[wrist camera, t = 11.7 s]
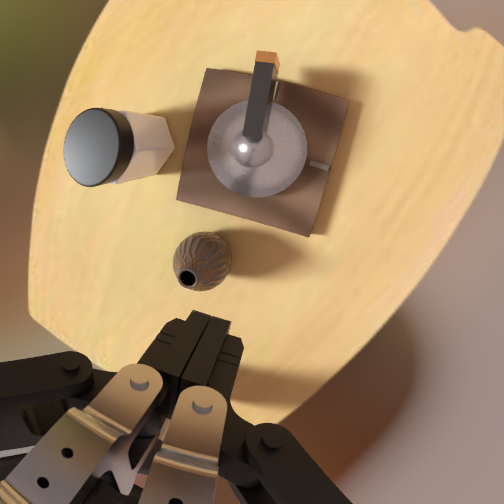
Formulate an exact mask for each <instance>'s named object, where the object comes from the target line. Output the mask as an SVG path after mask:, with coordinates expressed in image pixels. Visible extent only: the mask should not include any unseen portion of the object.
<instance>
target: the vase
mask: <svg viewBox="0 0 504 504" xmlns="http://www.w3.org/2000/svg"><path fill="white" fill-rule="evenodd" d="M230 267H231V252H230V249H229V247H228V245H227V243H226V242H225V241H224V240H223V239H222V238H221V237H220V236H218V235H216V234H214V233H211V232H198V233H194V234H192V235H190V236H188V237H187V238H185V239H184V240H183V241H182V242H181V243H180V244H179V246H178V247H177V249H176V252H175V254H174V258H173V269H174V272H175V275H176V277H177V279H178V281H179V283H180V284H181V285H182V286H183V287H185V288H188V289H191V290H194V291H207V290H210V289H212V288H214V287H216V286H218V285H219V284H220V283H221V282H222V281H223V280H224V279H225V278H226V276H227V274H228V272H229V270H230Z"/></svg>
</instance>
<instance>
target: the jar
mask: <svg viewBox="0 0 504 504" xmlns="http://www.w3.org/2000/svg"><path fill="white" fill-rule="evenodd" d="M174 150H175V146H174V143H173V140H172V137H171V134H170V131H169V128H168V125H167V122H166V118H165V117H161V116H155V115H149V114H143V113H137V112H130V111H116V110H112V109H104V108H91V109H88V110H85V111H83V112H82V113H80V114H79V115H78V116H77V117H76V118H75V119H74V121H73V122H72V123H71V125H70V127H69V129H68V131H67V134H66V137H65V141H64V160H65V164H66V167H67V170H68V172H69V174H70V175H71V177H72V178H73V179H74V180H75V181H76V182H77V183H79V184H81V185H83V186H87V187H95V186H99V185H103V184H107V183H111V184H120V183H124V182H128V181H132V180H136V179H141V178H145V177H149V176H154V175H156V174H157V173H158V171H159V170H160V169H161V167H162V166H163V164H164V163H165V162H166V160H167V159H168V158H169V156H170V155H171V154H172V152H173V151H174Z"/></svg>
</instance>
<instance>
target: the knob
mask: <svg viewBox="0 0 504 504" xmlns="http://www.w3.org/2000/svg"><path fill="white" fill-rule="evenodd" d="M279 66H280V63H279V60H278V56H277V53H275V52H266V51H257V53H256V59H255V67H254V72H253V78H252V83H251V88H250V94H249V99H248V100H247V101H243V102H240V103H237V104H235V105H233V106H231V107H230V108H228V109H227V110H226V111H224V112H223V113H222V114H221V115H220V116H219V117H218V118H217V120H216V121H215V123H214V124H213V126H212V128H211V131H210V133H209V137H208V142H207V155H208V160H209V163H210V166H211V168H212V171H213V172H214V174H215V176H216V177H217V178H218V179H219V181H220V182H221V183H222V184H223V185H224V186H226V187H227V188H228V189H230V190H232V191H233V192H235V193H238V194H240V195H243V196H247V197H267V196H271V195H274V194H277V193H279V192H281V191H283V190H285V189H286V188H287V187H289V186H290V185H291V184H292V183H293V182H294V181H295V180H296V179H297V177H298V176H299V175H300V173H301V171H302V169H303V167H304V164H305V161H306V157H307V141H306V136H305V133H304V130H303V128H302V126H301V124H300V123H299V121H298V120H297V118H296V117H295V116H294V115H293V114H292V113H291V112H290V111H289V110H287V109H286V108H284V107H283V106H281V105H279V104H277V103H274V102H273V97H274V91H275V85H276V80H277V74H278V72H279Z"/></svg>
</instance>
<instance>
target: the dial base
mask: <svg viewBox="0 0 504 504" xmlns="http://www.w3.org/2000/svg"><path fill="white" fill-rule="evenodd" d="M252 78H253V75H250V74H244V73H238V72H232V71H225V70H218V69H210V68H206V72H205V75H204V79H203V82H202V86H201V90H200V93H199V97H198V101H197V105H196V109H195V113H194V117H193V121H192V125H191V129H190V134H189V138H188V142H187V147H186V152H185V156H184V161H183V166H182V171H181V176H180V181H179V186H178V192H177V197H176V200H179V201H183V202H186V203H190V204H194V205H197V206H201V207H205V208H209V209H212V210H216V211H219V212H223V213H227V214H230V215H234V216H237V217H241V218H244V219H248V220H251V221H255V222H258V223H262V224H265V225H269V226H272V227H275V228H279V229H282V230H286V231H289V232H292V233H296V234H299V235H302V236H306V237H310V234H311V231H312V227H313V224H314V221H315V218H316V215H317V212H318V209H319V205H320V202H321V199H322V196H323V192H324V189H325V186H326V183H327V179H328V176H329V172H330V169H331V166H332V162H333V159H334V155H335V152H336V148H337V145H338V141H339V137H340V134H341V130H342V126H343V123H344V119H345V115H346V111H347V107H348V103H349V100H347V99H344V98H341V97H338V96H335V95H332V94H328V93H325V92H322V91H318V90H315V89H311V88H307V87H304V86H300V85H296V84H292V83H288V82H284V81H279V80H276V85H275V91H274V97H273V102H274V103H277V104H279V105H281V106H283V107H284V108H286V109H287V110H289V111H290V112H291V113H292V114H293V115H294V116H295V117H296V118H297V120H298V121H299V123H300V124H301V126H302V128H303V130H304V133H305V136H306V141H307V157H306V161H305V164H304V167H303V169H302V171H301V173H300V175H299V176H298V177H297V179H296V180H295V181H294V182H293V183H292V184H291V185H290V186H289V187H287V188H286V189H285V190H283V191H281V192H279V193H277V194H274V195H271V196H267V197H247V196H243V195H240V194H238V193H235V192H233V191H232V190H230V189H228V188H227V187H226V186H224V185H223V184H222V183H221V182H220V181H219V179H218V178H217V177H216V176H215V174H214V172H213V171H212V168H211V166H210V163H209V160H208V155H207V142H208V137H209V133H210V131H211V128H212V126H213V124H214V123H215V121H216V120H217V118H218V117H219V116H220V115H221V114H222V113H223V112H224V111H226V110H227V109H228V108H230V107H231V106H233V105H235V104H237V103H240V102H243V101H247V100H248V99H249V94H250V88H251V83H252Z"/></svg>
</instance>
